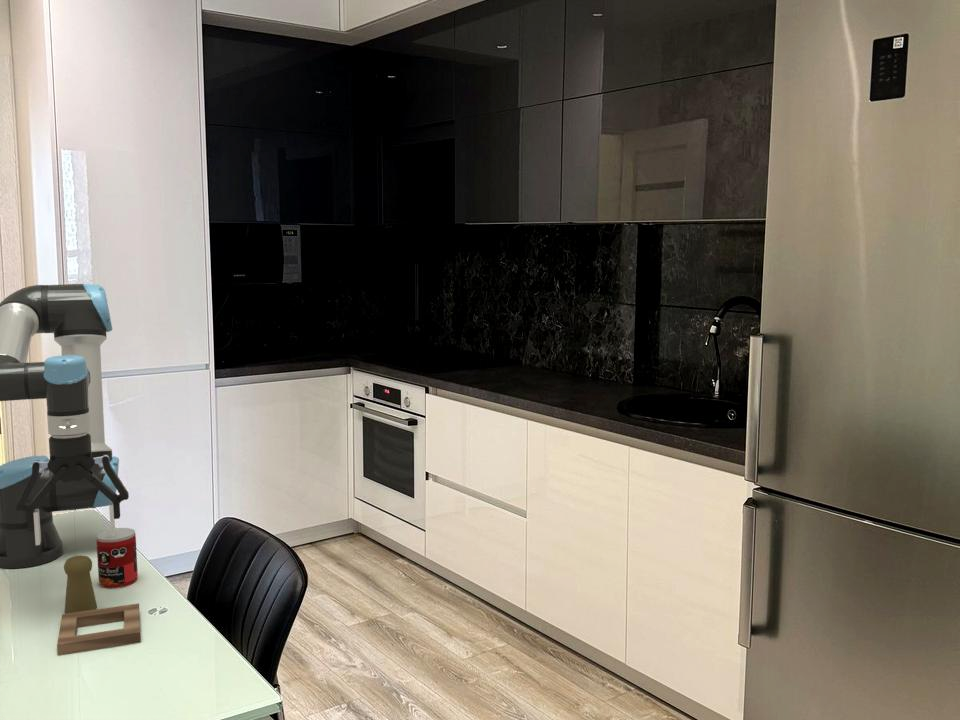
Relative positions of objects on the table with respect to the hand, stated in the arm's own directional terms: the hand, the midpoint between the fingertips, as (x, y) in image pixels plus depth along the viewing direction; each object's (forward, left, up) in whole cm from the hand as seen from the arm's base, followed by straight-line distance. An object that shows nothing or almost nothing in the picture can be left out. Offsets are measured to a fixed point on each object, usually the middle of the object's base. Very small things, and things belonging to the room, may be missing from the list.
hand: (76, 538), depth 176 cm
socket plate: (+13, +4, -15) cm, 20 cm away
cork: (0, 0, -15) cm, 15 cm away
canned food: (-13, +7, -15) cm, 21 cm away
